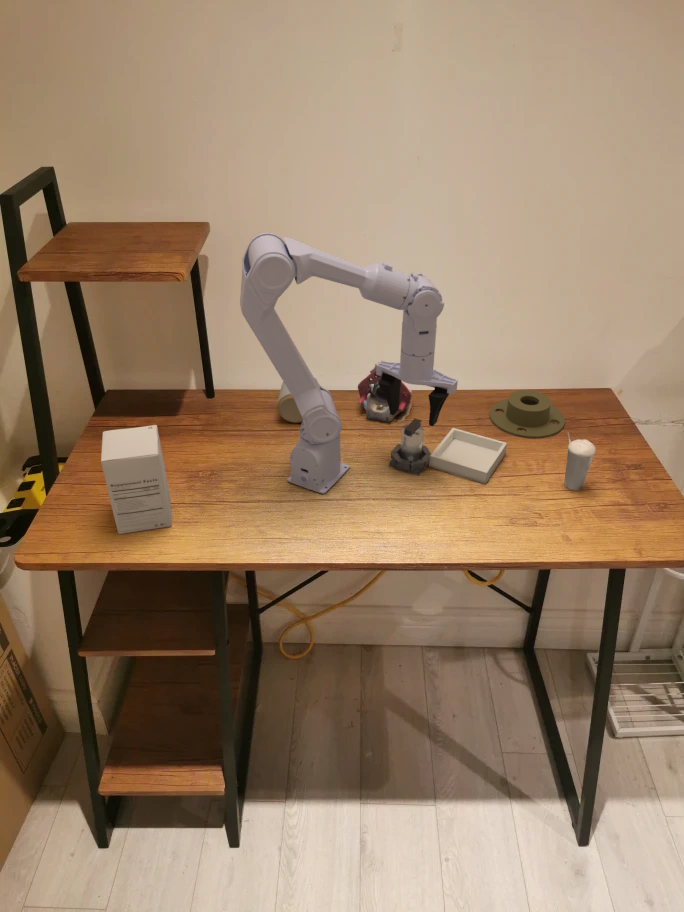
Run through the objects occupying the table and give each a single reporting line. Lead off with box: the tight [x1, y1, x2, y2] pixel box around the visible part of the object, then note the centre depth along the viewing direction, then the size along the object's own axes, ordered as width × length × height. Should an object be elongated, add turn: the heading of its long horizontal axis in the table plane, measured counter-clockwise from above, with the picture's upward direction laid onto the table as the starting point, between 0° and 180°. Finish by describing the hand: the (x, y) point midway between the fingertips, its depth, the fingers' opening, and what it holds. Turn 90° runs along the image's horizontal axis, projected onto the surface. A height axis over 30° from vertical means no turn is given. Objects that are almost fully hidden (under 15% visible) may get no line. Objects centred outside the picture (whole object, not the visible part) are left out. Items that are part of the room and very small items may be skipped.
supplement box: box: [100, 424, 173, 535], centre depth 118 cm, size 9×9×15 cm
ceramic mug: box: [277, 381, 303, 424], centre depth 147 cm, size 11×8×8 cm
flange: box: [489, 389, 566, 440], centre depth 147 cm, size 5×15×15 cm
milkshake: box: [563, 431, 596, 492], centre depth 126 cm, size 4×5×10 cm
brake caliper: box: [357, 361, 413, 423], centre depth 149 cm, size 11×11×12 cm
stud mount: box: [388, 443, 432, 476], centre depth 134 cm, size 7×7×2 cm
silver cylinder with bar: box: [400, 418, 425, 461], centre depth 132 cm, size 4×4×7 cm
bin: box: [428, 427, 508, 485], centre depth 135 cm, size 11×11×2 cm
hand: (413, 417), depth 129 cm, fingers open, 7 cm apart
